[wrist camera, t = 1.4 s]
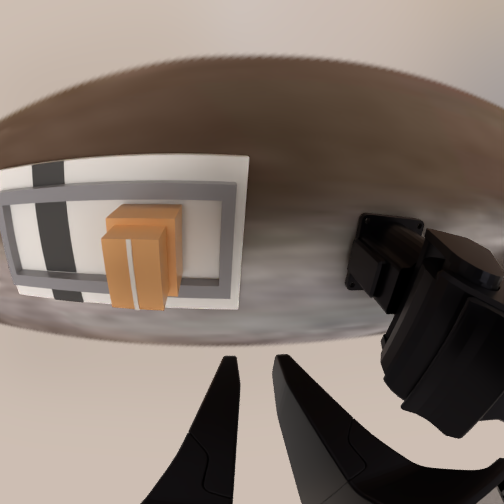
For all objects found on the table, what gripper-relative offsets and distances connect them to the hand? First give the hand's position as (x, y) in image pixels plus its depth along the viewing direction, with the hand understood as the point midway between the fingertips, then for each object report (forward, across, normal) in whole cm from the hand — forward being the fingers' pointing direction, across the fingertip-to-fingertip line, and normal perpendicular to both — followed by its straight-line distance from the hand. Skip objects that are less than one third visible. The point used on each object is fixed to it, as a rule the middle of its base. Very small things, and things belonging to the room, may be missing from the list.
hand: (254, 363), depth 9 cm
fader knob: (+11, +6, 0) cm, 12 cm away
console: (+12, +10, 0) cm, 15 cm away
